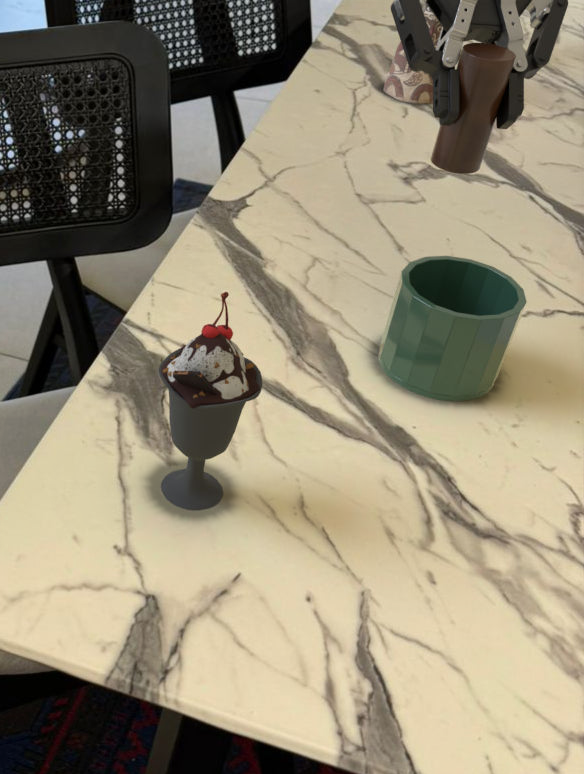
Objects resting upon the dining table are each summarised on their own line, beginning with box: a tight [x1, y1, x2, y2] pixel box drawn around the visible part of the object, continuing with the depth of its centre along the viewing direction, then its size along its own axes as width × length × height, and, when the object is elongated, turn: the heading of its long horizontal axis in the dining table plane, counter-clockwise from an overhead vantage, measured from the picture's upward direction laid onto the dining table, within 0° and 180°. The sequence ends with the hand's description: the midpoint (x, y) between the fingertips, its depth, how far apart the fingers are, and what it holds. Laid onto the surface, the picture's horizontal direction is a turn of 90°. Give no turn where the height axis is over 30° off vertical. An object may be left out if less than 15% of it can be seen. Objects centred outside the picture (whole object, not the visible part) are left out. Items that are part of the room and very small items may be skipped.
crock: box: [377, 255, 528, 402], centre depth 83 cm, size 10×10×8 cm
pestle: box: [430, 42, 516, 175], centre depth 81 cm, size 4×4×9 cm
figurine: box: [383, 4, 442, 104], centre depth 130 cm, size 7×7×12 cm
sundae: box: [158, 291, 263, 512], centre depth 67 cm, size 7×7×15 cm
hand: (478, 122), depth 80 cm, fingers closed on pestle, 4 cm apart
